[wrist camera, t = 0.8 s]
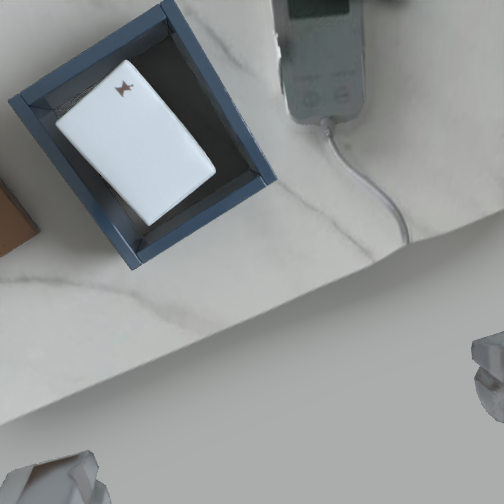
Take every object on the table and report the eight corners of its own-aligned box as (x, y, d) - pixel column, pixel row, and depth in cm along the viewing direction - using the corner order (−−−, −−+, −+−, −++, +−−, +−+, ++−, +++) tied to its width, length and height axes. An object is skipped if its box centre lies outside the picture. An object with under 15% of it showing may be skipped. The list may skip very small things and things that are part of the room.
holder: (139, 251, 33) (131, 271, 28) (35, 105, 30) (6, 100, 25) (265, 172, 33) (278, 179, 28) (173, 17, 30) (171, -6, 25)
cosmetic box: (100, 124, 31) (48, 120, 19) (149, 82, 30) (126, 53, 19) (161, 195, 32) (147, 230, 21) (208, 156, 32) (220, 169, 21)
